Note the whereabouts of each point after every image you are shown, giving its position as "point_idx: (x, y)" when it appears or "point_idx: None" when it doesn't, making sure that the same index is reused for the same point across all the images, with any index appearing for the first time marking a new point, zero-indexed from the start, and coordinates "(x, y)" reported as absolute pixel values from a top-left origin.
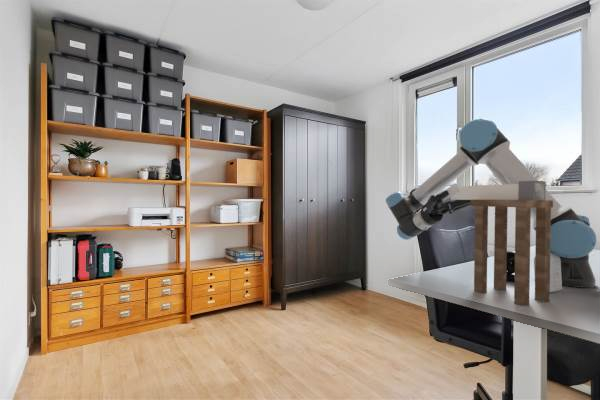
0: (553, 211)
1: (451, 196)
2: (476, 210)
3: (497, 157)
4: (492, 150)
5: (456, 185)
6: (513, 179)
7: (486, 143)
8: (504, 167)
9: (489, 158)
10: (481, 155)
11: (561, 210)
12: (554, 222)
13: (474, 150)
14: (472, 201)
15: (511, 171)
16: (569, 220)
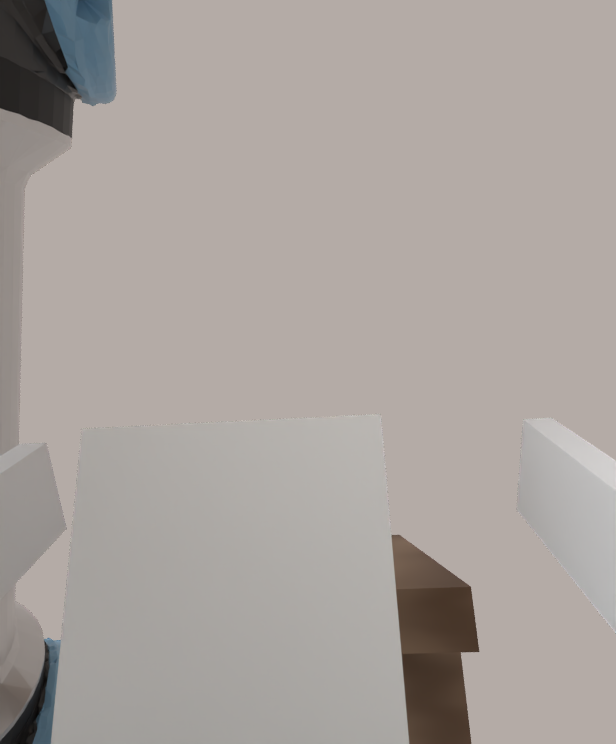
0: (17, 621)
1: (400, 708)
2: (459, 675)
3: (23, 209)
4: (69, 147)
5: (527, 442)
6: (11, 420)
7: (115, 79)
8: (17, 311)
9: (2, 169)
10: (24, 96)
11: (18, 607)
12: (42, 678)
13: (76, 8)
14: (468, 601)
15: (19, 358)
16: (58, 643)
